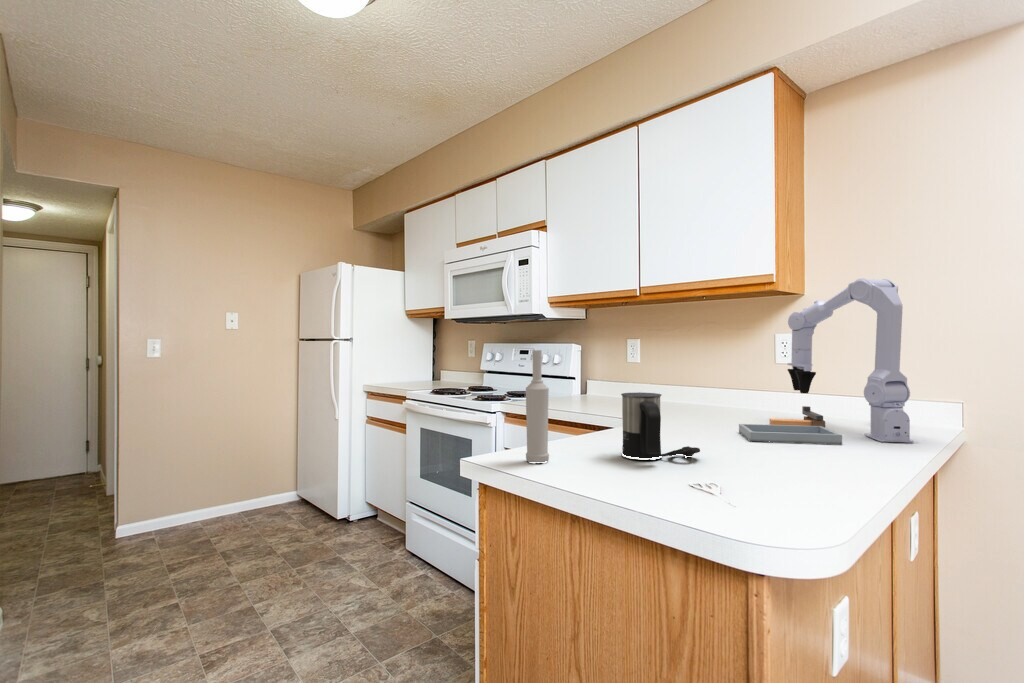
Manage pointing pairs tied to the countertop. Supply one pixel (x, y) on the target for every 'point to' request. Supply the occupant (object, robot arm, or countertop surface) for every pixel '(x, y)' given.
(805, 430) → the parts tray
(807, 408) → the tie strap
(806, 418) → the clamp posts
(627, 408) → the milk frother
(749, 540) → the countertop surface
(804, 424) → the orange-brown bar
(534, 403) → the bottle
